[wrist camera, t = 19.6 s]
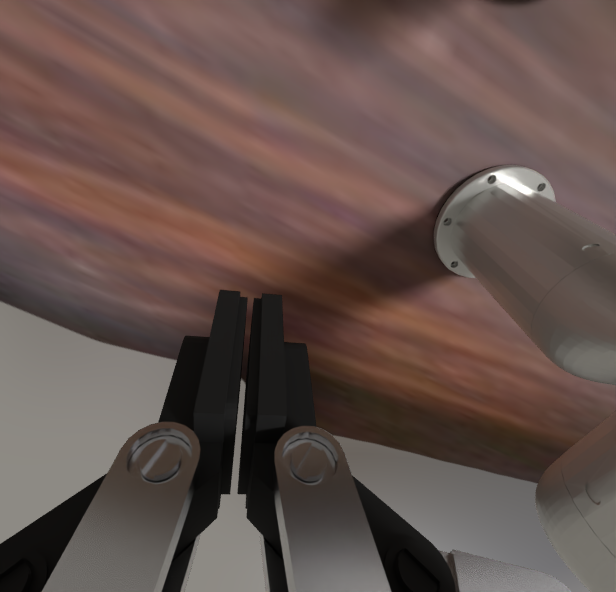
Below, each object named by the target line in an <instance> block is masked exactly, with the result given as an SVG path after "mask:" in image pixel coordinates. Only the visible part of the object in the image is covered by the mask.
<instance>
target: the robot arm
mask: <svg viewBox="0 0 616 592" xmlns="http://www.w3.org/2000/svg"><path fill="white" fill-rule="evenodd" d="M445 219H446V220H445ZM434 245H435V250H436V252H437V254H438V257H439V258H440V260H441V261H442V262H443V264H444V265H445V266H446V267H447V268H448V269H449V270H450V271H452V272H454V273H456V274H457V275H460V276H464V277H468V278H476V279H477V280H478V281H479V282H480V283H481V284H482V285H483V286H484V287H485V289H486V290H487V291H488V292H489V293H490V294H491V295H492V296H493V298H494V299H495V300H496V301H497V302H498V303H499V304H500V305H501V307H502V308H503V309H504V310H505V311H506V312H507V313H508V314H509V315H510V317H511V318H512V319H513V320H514V321H515V322H516V323H517V324H518V326H519V327H520V328H521V329H522V330H523V331H524V332H525V333H526V334H527V336H528V337H529V338H530V339H531V340H532V341H533V342H534V343H535V344H536V345H537V346H538V348H539V349H540V350H541V351H542V352H543V353H544V354H545V355H546V356H547V357H548V358H549V359H550V360H551V361H552V362H553V363H554V364H556V365H557V366H558V367H560V368H561V369H563V370H564V371H566V372H568V373H570V374H572V375H574V376H577V377H580V378H583V379H586V380H590V381H595V382H599V383H605V384H612V385H616V235H615V234H614V233H612V232H610V231H608V230H606V229H604V228H602V227H601V226H599V225H597V224H595V223H593V222H591V221H589V220H588V219H586V218H584V217H582V216H580V215H578V214H576V213H575V212H573V211H571V210H569V209H567V208H565V207H563V206H561V205H560V204H558V203H556V200H555V195H554V191H553V189H552V187H551V185H550V183H549V182H548V181H547V179H546V178H545V177H544V176H543V175H541V174H539V173H538V172H536V171H534V170H532V169H530V168H527V167H525V166H519V165H501V166H497V167H493V168H489V169H487V170H485V171H482V172H480V173H478V174H476V175H474V176H473V177H471V178H470V179H468V180H466V181H465V182H464V183H463V184H462V185H461V186H459V187H458V188H457V189H456V190H455V191H454V192H453V194H452V195H451V196H450V197H449V198H448V199H447V201H446V202H445V204H444V206H443V207H442V209H441V211H440V213H439V215H438V218H437V220H436V224H435V228H434ZM247 299H248V298H247V297H240V292H239V291H227V290H220V292H219V296H218V301H217V305H216V310H215V315H214V319H213V324H212V329H211V333H210V337H198V336H185V337H184V340H183V343H182V346H181V349H180V353H179V356H178V359H177V363H176V366H175V369H174V372H173V376H172V379H171V382H170V386H169V389H168V393H167V396H166V399H165V402H164V405H163V409H162V412H161V415H160V419H159V422H158V423H155V424H151V425H149V426H147V427H144V428H142V429H140V430H138V432H136V433H135V434H134V435H132V436H131V437H130V438H129V439H128V440H127V441H126V443H125V444H124V445H123V447H122V448H121V450H120V451H119V453H118V455H117V457H116V459H115V460H114V462H113V464H112V466H111V468H110V470H109V471H108V473H107V474H105V475H104V476H102V477H101V478H99V479H98V480H96V481H95V482H93V483H92V484H90V485H89V486H87V487H86V488H84V489H83V490H81V491H80V492H78V493H77V494H75V495H74V496H72V497H71V498H69V499H68V500H66V501H64V502H63V503H61V504H60V505H58V506H57V507H55V508H54V509H52V510H51V511H49V512H48V513H46V514H45V515H43V516H42V517H40V518H39V519H37V520H36V521H34V522H33V523H31V524H30V525H28V526H27V527H25V528H24V529H22V530H21V531H19V532H18V533H16V534H15V535H13V536H12V537H10V538H9V539H7V540H6V541H4V542H3V543H1V544H0V592H185V588H186V585H187V581H188V578H189V574H190V570H191V567H192V564H193V560H194V557H195V553H196V550H197V546H198V543H199V539H200V533H201V532H203V531H204V530H205V528H207V527H208V526H209V525H210V524H211V523H212V522H213V521H214V520H215V519H216V518H217V513H218V509H219V507H220V498H221V494H230V488H231V478H232V477H231V476H232V467H233V457H234V445H235V434H236V424H237V414H238V403H239V392H240V381H241V370H242V358H243V346H244V335H245V323H246V311H247ZM242 430H243V431H242V443H241V455H240V456H241V457H240V468H239V481H238V494H246V509H247V519H248V520H249V521H250V522H251V523H252V524H253V525H254V526H255V527H256V528H257V530H258V531H259V532H260V544H261V553H262V562H263V571H264V580H265V589H266V592H572V591H571V590H570V589H569V588H568V587H566V586H565V585H564V584H563V583H561V582H560V581H559V580H558V579H557V578H555V577H553V576H550V575H548V574H546V573H544V572H540V571H536V570H532V569H528V568H524V567H520V566H517V565H513V564H508V563H504V562H501V561H497V560H493V559H489V558H484V557H481V556H477V555H473V554H469V553H465V552H461V551H456V550H452V551H451V552H450V553H447V552H443V551H439V550H437V548H435V546H434V545H433V544H432V543H431V542H430V541H429V540H427V539H426V538H425V537H424V536H423V535H421V534H420V533H419V532H418V531H417V530H416V529H414V528H413V527H412V526H411V525H410V524H408V523H407V522H406V521H405V520H404V519H403V518H401V517H400V516H399V515H398V514H397V513H396V512H394V511H393V510H392V509H391V508H390V507H389V506H387V505H386V504H385V503H384V502H383V501H381V500H380V499H379V498H378V497H377V496H376V495H375V494H373V493H372V492H371V491H370V490H369V489H367V488H366V487H365V486H364V485H363V484H362V483H361V482H359V481H358V480H357V479H356V478H355V477H353V476H352V474H351V471H350V468H349V465H348V462H347V459H346V456H345V453H344V451H343V449H342V447H341V445H340V443H339V442H338V441H337V440H336V439H335V438H334V437H333V435H331V434H330V433H328V432H326V431H325V430H323V429H320V428H317V427H316V420H315V411H314V403H313V395H312V386H311V378H310V369H309V361H308V353H307V346H306V344H304V343H289V342H284V335H283V311H282V295H273V294H262V298H261V299H259V298H254V302H253V313H252V323H251V334H250V344H249V355H248V365H247V376H246V389H245V403H244V416H243V429H242ZM535 503H536V510H537V514H538V517H539V520H540V523H541V525H542V527H543V529H544V531H545V533H546V535H547V537H548V539H549V541H550V542H551V544H552V546H553V547H554V549H555V550H556V551H557V553H558V554H559V556H560V557H561V559H562V560H563V561H564V563H565V564H566V565H567V566H568V568H569V569H570V570H571V571H572V572H573V573H574V575H575V576H576V577H577V578H578V579H579V580H580V581H581V582H582V584H583V585H584V586H585V587H586V588H587V589H588V590H589V591H590V592H616V410H615V411H614V412H613V413H612V415H611V416H610V417H608V418H607V419H606V420H605V421H603V422H602V423H601V424H600V425H598V426H597V427H596V428H595V429H594V430H592V431H591V432H590V433H589V434H587V435H586V436H585V437H584V438H582V439H581V440H580V441H579V442H577V443H576V444H575V445H574V446H572V447H571V448H570V449H569V450H567V451H566V452H565V453H564V454H563V455H562V456H561V457H559V458H558V459H557V460H556V461H555V462H554V463H553V464H552V465H551V466H550V467H549V468H548V469H547V470H546V471H545V472H544V473H543V475H542V477H541V478H540V480H539V482H538V485H537V489H536V495H535Z"/></svg>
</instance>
